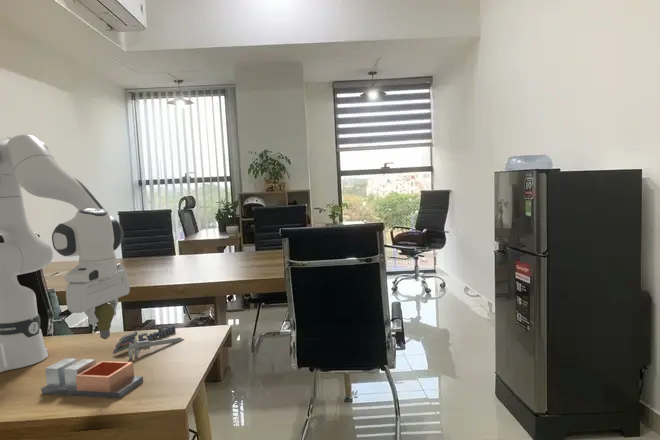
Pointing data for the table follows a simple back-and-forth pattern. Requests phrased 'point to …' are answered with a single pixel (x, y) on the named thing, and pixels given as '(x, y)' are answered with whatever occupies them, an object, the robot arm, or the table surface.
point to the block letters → (151, 337)
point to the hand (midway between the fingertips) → (103, 319)
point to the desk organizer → (90, 378)
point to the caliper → (148, 345)
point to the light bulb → (104, 319)
